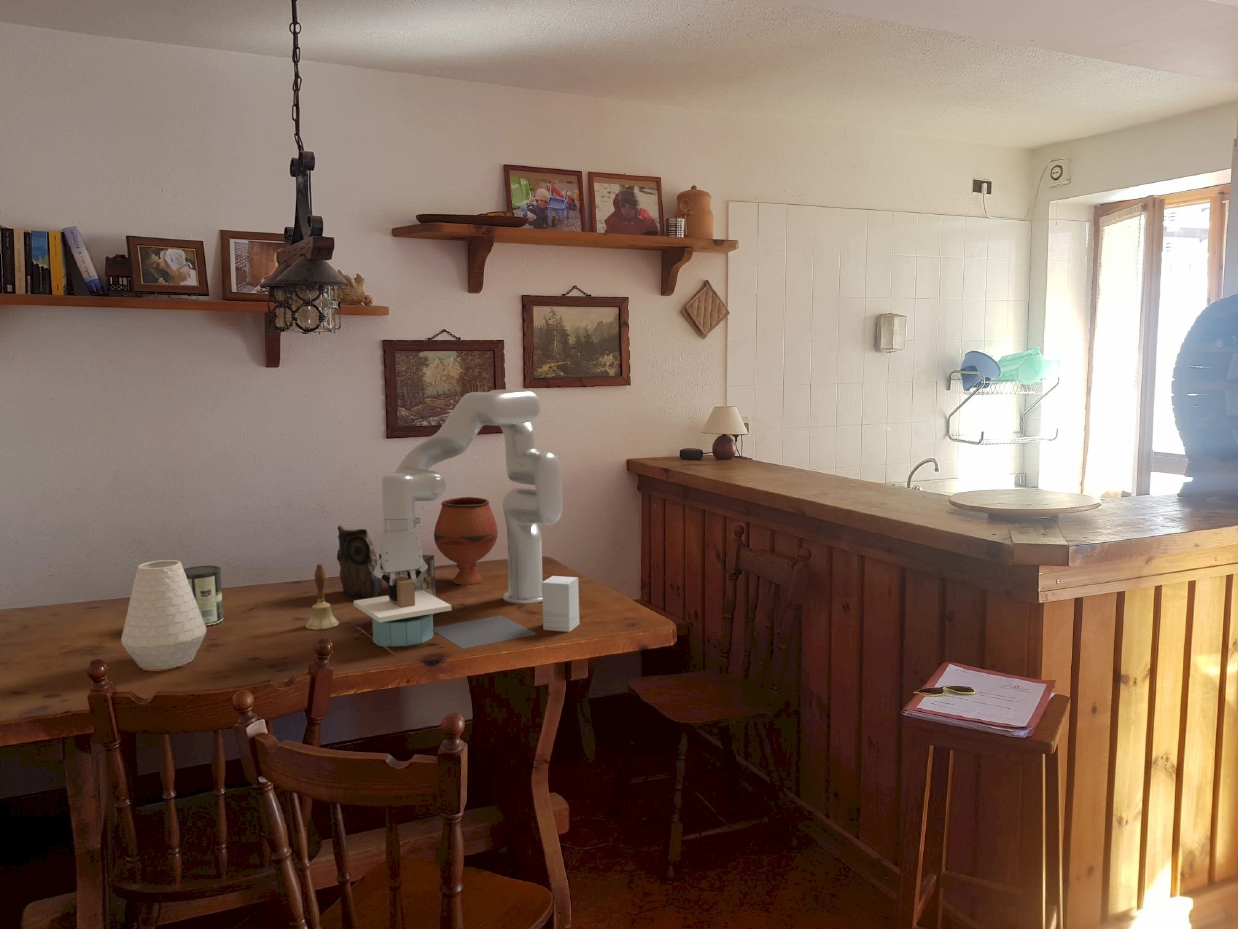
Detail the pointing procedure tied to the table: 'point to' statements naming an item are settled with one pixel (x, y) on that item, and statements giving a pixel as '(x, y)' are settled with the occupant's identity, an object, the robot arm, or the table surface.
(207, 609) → the coffee can
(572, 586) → the supplement box
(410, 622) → the bowl
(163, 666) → the vase
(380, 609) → the lid
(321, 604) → the hand bell
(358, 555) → the owl
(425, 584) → the coffee box
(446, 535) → the goblet
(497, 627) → the mat
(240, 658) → the table surface
